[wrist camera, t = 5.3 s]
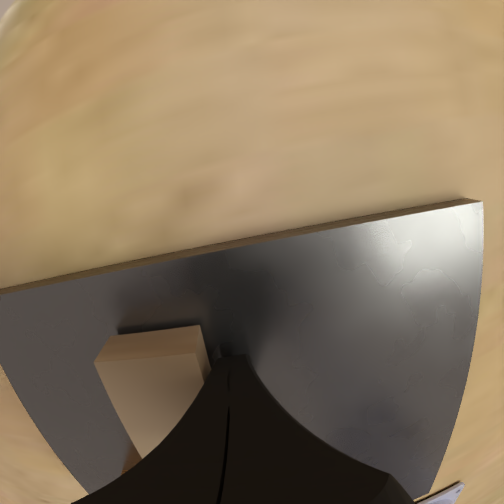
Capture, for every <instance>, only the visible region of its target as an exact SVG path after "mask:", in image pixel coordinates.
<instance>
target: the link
mask: <svg viewBox="0 0 504 504" xmlns="http://www.w3.org/2000/svg"><path fill="white" fill-rule="evenodd" d="M94 365H95V367H96V369H97V372H98V374H99V376H100V378H101V381H102V383H103V385H104V387H105V389H106V392H107V394H108V396H109V398H110V400H111V402H112V404H113V406H114V408H115V410H116V412H117V414H118V416H119V418H120V420H121V422H122V424H123V426H124V427H125V429H126V431H127V433H128V435H129V437H130V439H131V440H132V442H133V444H134V446H135V447H136V449H137V451H138V453H139V454H140V456H141V458H142V459H143V458H144V457H145V456H146V455H147V454H149V453H150V452H151V451H152V450H153V449H154V448H155V447H156V446H157V445H159V444H160V443H161V441H162V440H163V439H164V438H165V437H166V436H167V435H168V434H169V433H170V432H171V430H172V429H173V428H174V427H175V426H176V424H177V423H178V422H179V421H180V419H181V418H182V416H183V415H184V414H185V412H186V411H187V409H188V408H189V407H190V405H191V404H192V402H193V401H194V399H195V398H196V396H197V394H198V393H199V391H200V389H201V388H202V386H203V384H204V383H205V381H206V379H207V377H208V375H209V373H210V371H211V367H210V363H209V359H208V355H207V351H206V348H205V344H204V340H203V336H202V332H201V328H200V325H195V326H188V327H181V328H174V329H166V330H158V331H150V332H142V333H133V334H124V335H114V336H110V337H109V339H108V340H107V342H106V343H105V345H104V346H103V348H102V350H101V351H100V353H99V354H98V356H97V357H96V359H95V361H94Z"/></svg>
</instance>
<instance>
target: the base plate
mask: <svg viewBox="0 0 504 504" xmlns="http://www.w3.org/2000/svg"><path fill="white" fill-rule="evenodd" d="M482 268H483V201H478V200H473V199H468V198H466V199H460V200H454V201H448V202H442V203H436V204H430V205H425V206H419V207H413V208H407V209H402V210H396V211H390V212H385V213H379V214H373V215H368V216H362V217H357V218H351V219H346V220H340V221H335V222H329V223H324V224H318V225H313V226H308V227H302V228H297V229H291V230H286V231H281V232H276V233H270V234H265V235H260V236H255V237H249V238H244V239H239V240H234V241H229V242H224V243H219V244H214V245H208V246H203V247H198V248H193V249H188V250H183V251H178V252H173V253H168V254H163V255H158V256H154V257H149V258H144V259H139V260H134V261H129V262H124V263H119V264H115V265H110V266H105V267H100V268H96V269H91V270H86V271H81V272H77V273H72V274H67V275H63V276H58V277H53V278H49V279H44V280H40V281H35V282H30V283H26V284H21V285H17V286H12V287H8V288H3V289H0V364H1V366H2V368H3V370H4V372H5V374H6V376H7V377H8V379H9V381H10V383H11V385H12V387H13V388H14V390H15V392H16V394H17V396H18V397H19V399H20V401H21V402H22V404H23V406H24V407H25V409H26V411H27V412H28V414H29V415H30V417H31V419H32V420H33V422H34V423H35V425H36V426H37V428H38V429H39V431H40V432H41V434H42V435H43V437H44V438H45V439H46V441H47V442H48V444H49V445H50V446H51V448H52V449H53V451H54V452H55V453H56V455H57V456H58V457H59V459H60V460H61V461H62V462H63V464H64V465H65V466H66V468H67V469H68V470H69V471H70V473H71V474H72V475H73V476H74V477H75V479H76V480H77V481H78V482H79V483H80V484H81V486H82V487H83V488H84V489H85V490H86V491H87V492H88V494H91V493H93V492H95V491H97V490H99V489H100V488H102V487H104V486H106V485H107V484H109V483H111V482H112V481H114V480H115V479H117V478H118V477H120V476H121V475H122V474H124V473H125V472H127V471H128V470H129V469H131V468H132V467H133V466H135V465H136V464H137V463H138V462H140V461H141V460H142V458H141V456H140V454H139V453H138V451H137V449H136V447H135V446H134V444H133V442H132V440H131V439H130V437H129V435H128V433H127V431H126V429H125V427H124V426H123V424H122V422H121V420H120V418H119V416H118V414H117V412H116V410H115V408H114V406H113V404H112V402H111V400H110V398H109V396H108V394H107V392H106V389H105V387H104V385H103V383H102V381H101V378H100V376H99V374H98V372H97V369H96V367H95V365H94V361H95V359H96V357H97V356H98V354H99V353H100V351H101V350H102V348H103V346H104V345H105V343H106V342H107V340H108V339H109V337H110V336H114V335H124V334H133V333H142V332H150V331H158V330H166V329H174V328H181V327H188V326H195V325H200V328H201V332H202V336H203V340H204V344H205V348H206V351H207V355H208V359H209V363H210V367H211V369H212V367H213V365H214V363H215V361H216V360H217V359H218V358H222V357H228V356H234V355H240V354H247V355H249V356H250V359H251V363H252V365H253V367H254V369H255V371H256V373H257V374H258V376H259V378H260V379H261V381H262V382H263V383H264V385H265V386H266V388H267V389H268V390H269V392H270V393H271V394H272V395H273V397H274V398H275V399H276V400H277V401H278V402H279V403H280V404H281V406H282V407H283V408H284V409H285V410H286V411H287V412H288V413H289V414H290V415H291V416H292V417H294V418H295V419H296V420H297V421H298V422H299V423H300V424H301V425H303V426H304V427H305V428H307V429H308V430H309V431H310V432H312V433H313V434H314V435H316V436H317V437H319V438H320V439H322V440H323V441H325V442H326V443H328V444H329V445H331V446H333V447H334V448H336V449H337V450H339V451H341V452H343V453H344V454H346V455H348V456H350V457H352V458H354V459H356V460H358V461H360V462H362V463H365V464H367V465H369V466H371V467H374V468H376V469H379V470H381V471H384V472H387V473H390V474H391V475H392V476H393V477H394V478H395V479H396V480H397V481H398V482H399V483H400V484H401V485H402V487H403V488H404V489H405V490H406V492H407V493H408V494H409V496H410V497H411V498H412V500H414V499H416V498H419V497H421V496H423V495H425V494H427V493H429V491H430V489H431V487H432V484H433V482H434V480H435V477H436V475H437V473H438V470H439V468H440V465H441V462H442V460H443V457H444V454H445V452H446V449H447V446H448V443H449V440H450V437H451V434H452V431H453V428H454V425H455V422H456V418H457V415H458V412H459V408H460V404H461V401H462V397H463V393H464V389H465V385H466V381H467V376H468V372H469V367H470V362H471V357H472V352H473V346H474V340H475V334H476V328H477V320H478V313H479V304H480V294H481V283H482Z"/></svg>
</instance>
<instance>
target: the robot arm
mask: <svg viewBox="0 0 504 504" xmlns="http://www.w3.org/2000/svg"><path fill="white" fill-rule="evenodd" d="M464 485H465V484H464V483H463V482H460V483H458V484H456V485H454V486H452V487H450V488H448V489H446V490H444V491H442V492H440V493H438V494H436V495H434V496H432V497H430V498H428V499H426V500H424V501H422V502H419V503H417V504H454V503H455V501H456V499H457V498H458V496H459V494H460V492H461V491H462V489H463V487H464ZM71 504H415V503H414V501H413V500H412V498H411V497H410V496H409V494H408V493H407V492H406V490H405V489H404V488H403V487H402V485H401V484H400V483H399V482H398V481H397V480H396V479H395V478H394V477H393V476H392V475H391V474H390V473H387V472H384V471H381V470H379V469H376V468H374V467H371V466H369V465H367V464H365V463H362V462H360V461H358V460H356V459H354V458H352V457H350V456H348V455H346V454H344V453H343V452H341V451H339V450H337V449H336V448H334V447H333V446H331V445H329V444H328V443H326V442H325V441H323V440H322V439H320V438H319V437H317V436H316V435H314V434H313V433H312V432H310V431H309V430H308V429H307V428H305V427H304V426H303V425H301V424H300V423H299V422H298V421H297V420H296V419H295V418H294V417H292V416H291V415H290V414H289V413H288V412H287V411H286V410H285V409H284V408H283V407H282V406H281V404H280V403H279V402H278V401H277V400H276V399H275V398H274V397H273V395H272V394H271V393H270V392H269V390H268V389H267V388H266V386H265V385H264V383H263V382H262V381H261V379H260V378H259V376H258V374H257V373H256V371H255V369H254V367H253V365H252V363H251V359H250V356H249V355H247V354H240V355H234V356H228V357H222V358H218V359H217V360H216V361H215V363H214V365H213V367H212V369H211V371H210V373H209V375H208V377H207V379H206V381H205V383H204V384H203V386H202V388H201V389H200V391H199V393H198V394H197V396H196V398H195V399H194V401H193V402H192V404H191V405H190V407H189V408H188V409H187V411H186V412H185V414H184V415H183V416H182V418H181V419H180V421H179V422H178V423H177V424H176V426H175V427H174V428H173V429H172V430H171V432H170V433H169V434H168V435H167V436H166V437H165V438H164V439H163V440H162V441H161V443H160V444H159V445H157V446H156V447H155V448H154V449H153V450H152V451H151V452H150V453H149V454H147V455H146V456H145V457H144V458H143V459H142V460H141V461H140V462H138V463H137V464H136V465H135V466H133V467H132V468H131V469H129V470H128V471H127V472H125V473H124V474H122V475H121V476H120V477H118V478H117V479H115V480H114V481H112V482H111V483H109V484H107V485H106V486H104V487H102V488H100V489H99V490H97V491H95V492H93V493H91V494H89V495H87V496H85V497H83V498H81V499H79V500H77V501H75V502H73V503H71Z"/></svg>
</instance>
